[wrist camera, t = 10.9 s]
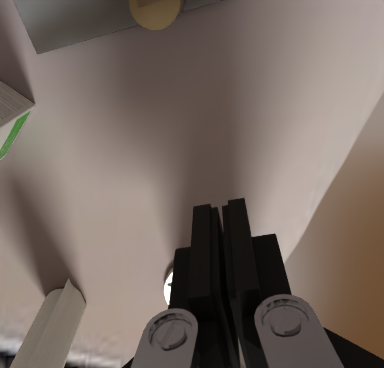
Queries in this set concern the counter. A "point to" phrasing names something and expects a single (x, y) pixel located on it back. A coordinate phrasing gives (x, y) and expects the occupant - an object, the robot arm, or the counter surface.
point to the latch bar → (155, 12)
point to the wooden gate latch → (79, 19)
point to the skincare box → (12, 116)
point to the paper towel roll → (52, 330)
